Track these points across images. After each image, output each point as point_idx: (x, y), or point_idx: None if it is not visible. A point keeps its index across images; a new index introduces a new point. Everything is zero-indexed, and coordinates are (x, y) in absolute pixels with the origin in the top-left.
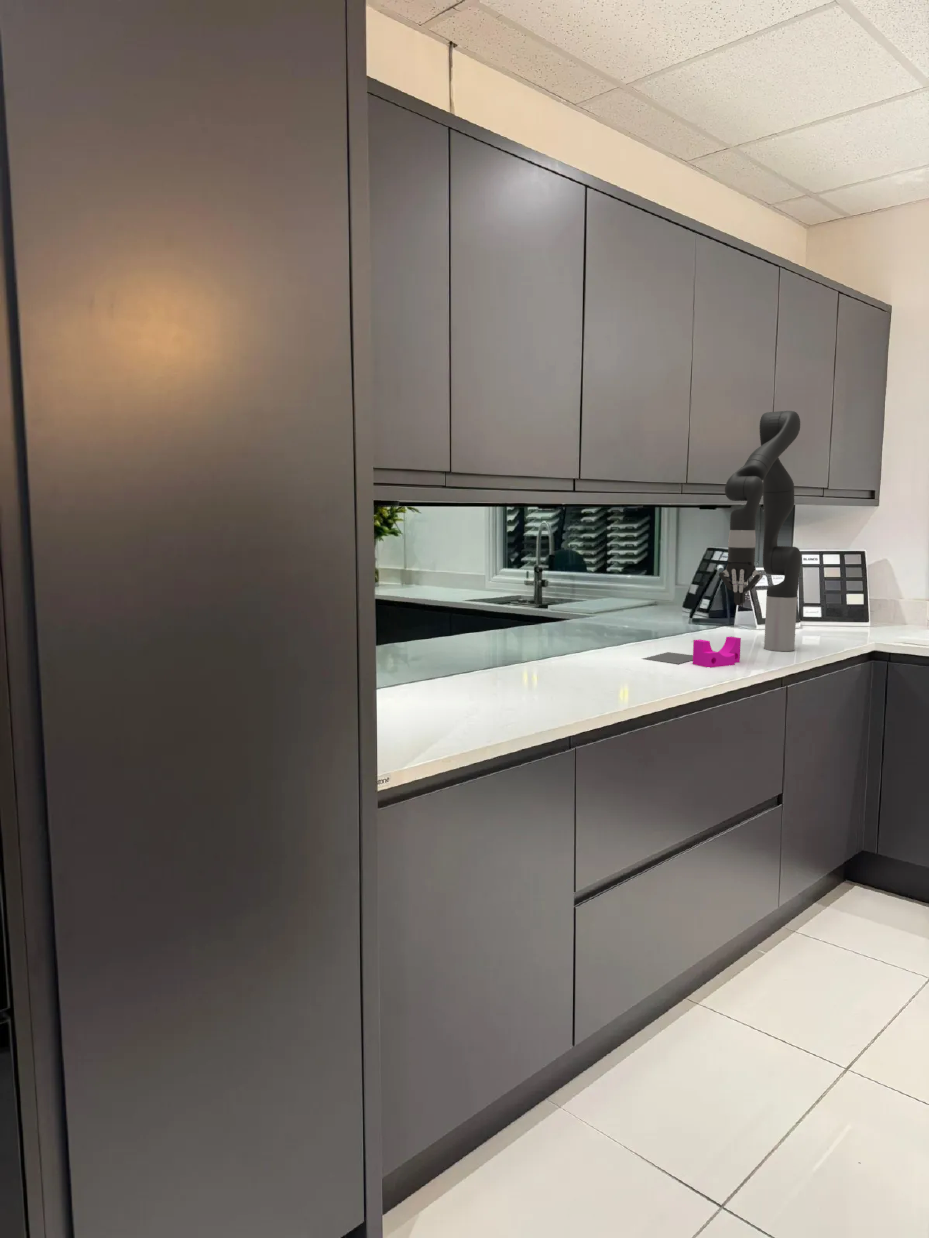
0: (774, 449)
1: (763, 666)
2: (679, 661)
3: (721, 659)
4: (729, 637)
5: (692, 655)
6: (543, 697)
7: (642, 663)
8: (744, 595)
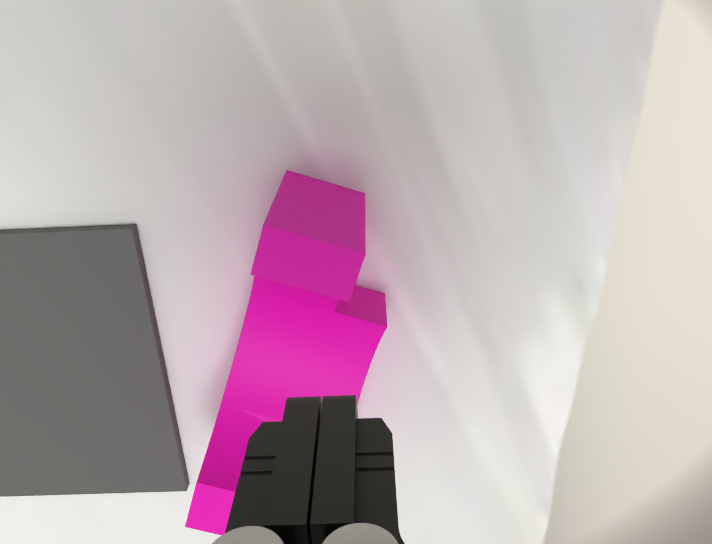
0: None
1: (531, 216)
2: (151, 445)
3: None
4: (282, 281)
5: (62, 242)
6: None
7: (42, 533)
8: (392, 522)
